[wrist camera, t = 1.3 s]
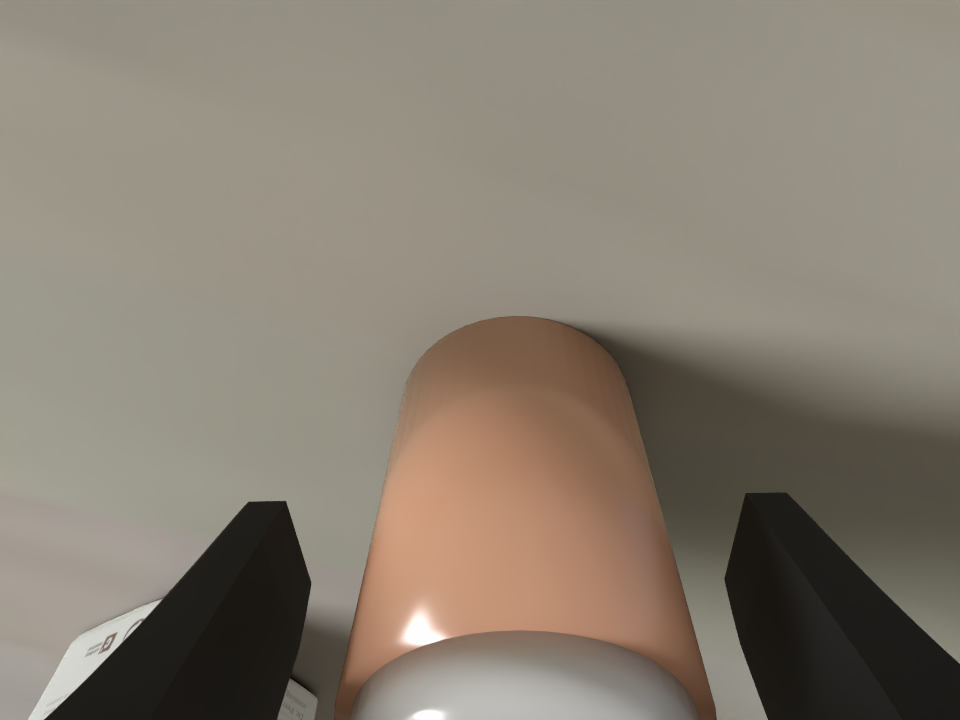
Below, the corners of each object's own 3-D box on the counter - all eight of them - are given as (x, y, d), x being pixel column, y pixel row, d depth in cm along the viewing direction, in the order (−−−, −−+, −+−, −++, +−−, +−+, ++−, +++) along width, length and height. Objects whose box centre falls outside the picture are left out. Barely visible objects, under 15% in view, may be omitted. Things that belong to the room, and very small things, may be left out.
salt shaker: (640, 312, 12) (777, 696, 6) (621, 494, 14) (704, 888, 8) (388, 320, 12) (275, 695, 6) (415, 496, 14) (354, 881, 9)
